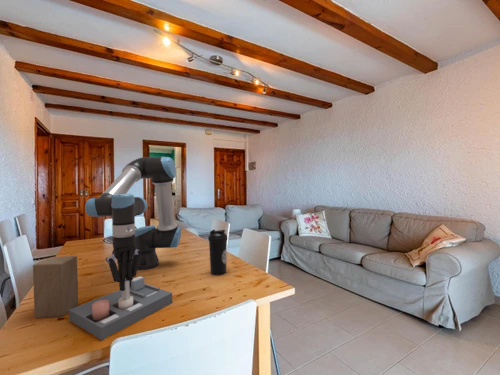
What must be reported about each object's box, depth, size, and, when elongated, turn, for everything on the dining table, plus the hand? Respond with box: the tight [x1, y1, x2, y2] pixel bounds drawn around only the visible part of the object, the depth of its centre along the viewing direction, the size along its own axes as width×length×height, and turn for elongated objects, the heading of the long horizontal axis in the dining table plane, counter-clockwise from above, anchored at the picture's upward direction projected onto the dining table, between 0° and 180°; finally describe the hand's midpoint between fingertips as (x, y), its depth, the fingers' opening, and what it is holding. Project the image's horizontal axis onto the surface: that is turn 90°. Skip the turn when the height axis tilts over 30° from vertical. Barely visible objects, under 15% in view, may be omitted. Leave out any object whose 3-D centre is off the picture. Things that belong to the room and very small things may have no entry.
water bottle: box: [208, 229, 228, 276], centre depth 135 cm, size 10×10×23 cm
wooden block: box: [32, 255, 79, 318], centre depth 96 cm, size 10×10×20 cm
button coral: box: [92, 299, 109, 321], centre depth 85 cm, size 5×5×5 cm
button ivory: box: [118, 296, 133, 310], centre depth 93 cm, size 5×5×5 cm
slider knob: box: [130, 275, 146, 291], centre depth 106 cm, size 3×5×4 cm, turn 148°
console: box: [68, 283, 173, 341], centre depth 95 cm, size 22×28×5 cm
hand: (125, 297), depth 93 cm, fingers closed
